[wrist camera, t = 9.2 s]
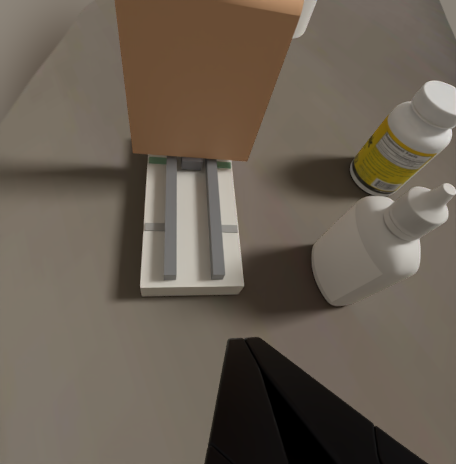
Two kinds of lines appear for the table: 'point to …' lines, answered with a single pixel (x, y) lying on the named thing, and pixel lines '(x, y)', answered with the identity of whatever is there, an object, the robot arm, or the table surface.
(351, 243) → the eye dropper bottle
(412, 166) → the supplement bottle
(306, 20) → the cylinder with rectangular tab
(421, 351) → the table surface
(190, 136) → the fader paddle
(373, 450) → the robot arm
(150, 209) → the white base with rails
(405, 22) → the table surface
